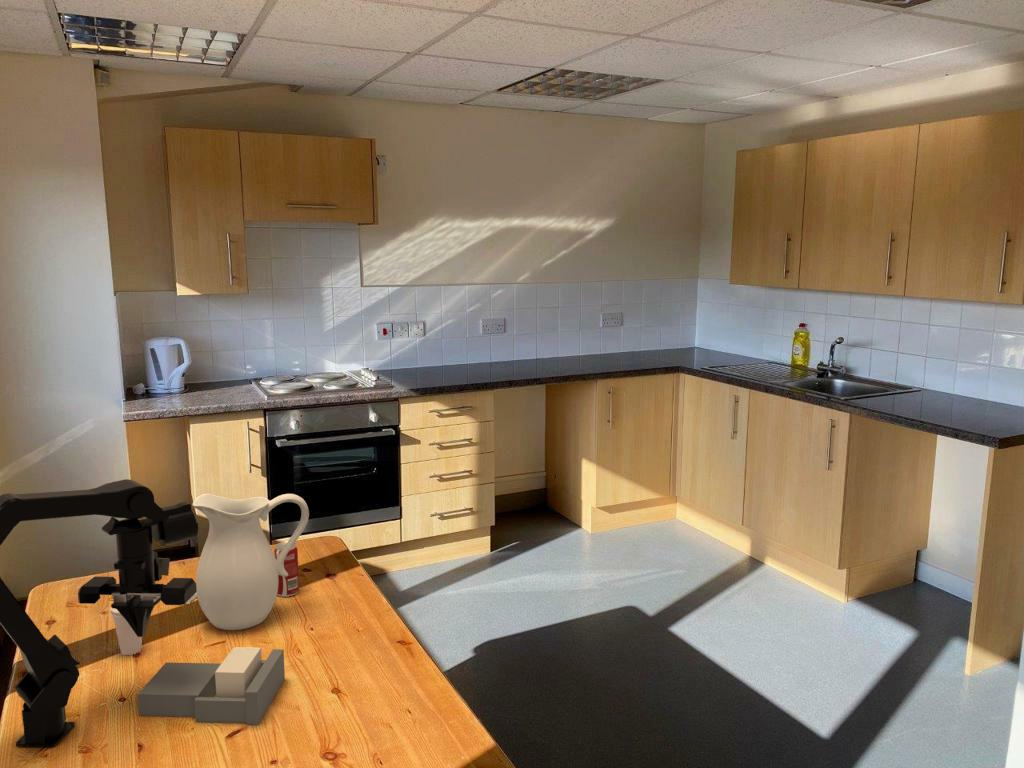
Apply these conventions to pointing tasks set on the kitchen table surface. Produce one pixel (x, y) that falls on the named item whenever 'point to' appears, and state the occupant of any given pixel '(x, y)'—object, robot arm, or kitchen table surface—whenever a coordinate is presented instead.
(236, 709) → the stand
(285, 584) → the soda can
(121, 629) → the smoothie
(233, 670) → the carton
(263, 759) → the kitchen table surface
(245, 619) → the pitcher
